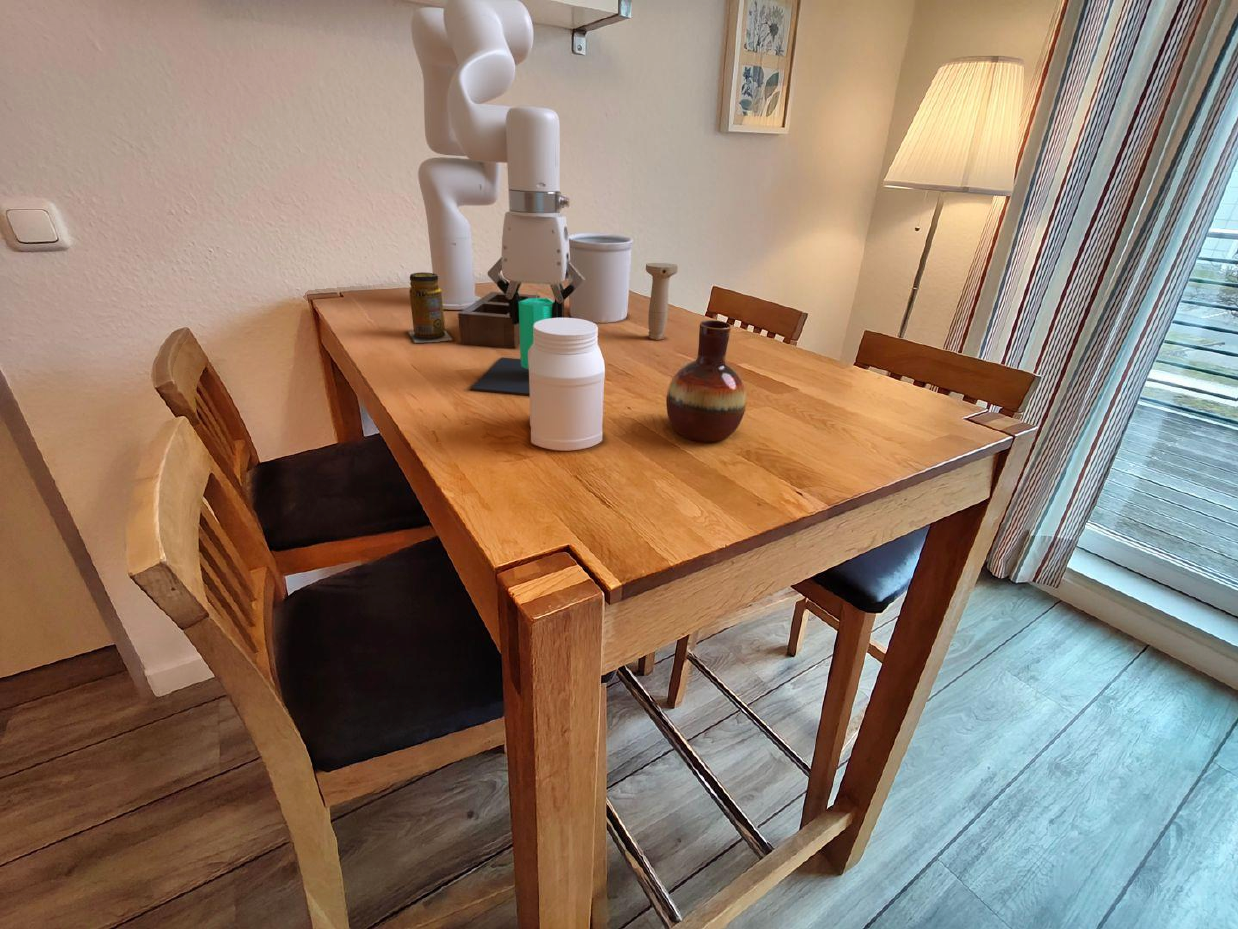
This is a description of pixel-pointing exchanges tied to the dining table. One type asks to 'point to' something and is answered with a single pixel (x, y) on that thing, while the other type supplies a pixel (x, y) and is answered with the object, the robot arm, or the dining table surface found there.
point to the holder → (490, 322)
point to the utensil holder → (600, 276)
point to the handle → (659, 297)
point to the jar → (566, 384)
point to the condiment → (427, 309)
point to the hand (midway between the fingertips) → (537, 323)
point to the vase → (707, 390)
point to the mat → (505, 378)
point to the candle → (531, 322)
